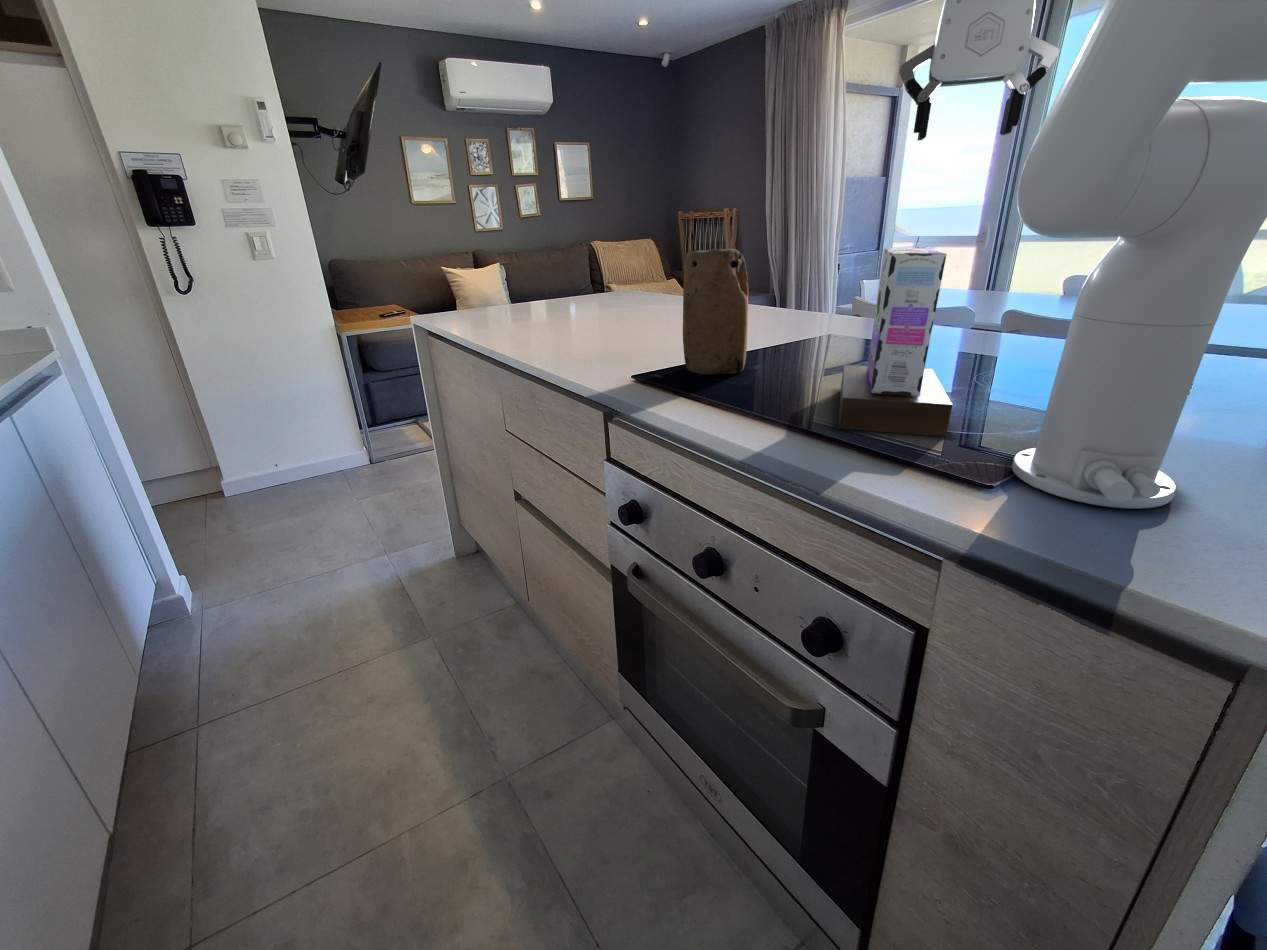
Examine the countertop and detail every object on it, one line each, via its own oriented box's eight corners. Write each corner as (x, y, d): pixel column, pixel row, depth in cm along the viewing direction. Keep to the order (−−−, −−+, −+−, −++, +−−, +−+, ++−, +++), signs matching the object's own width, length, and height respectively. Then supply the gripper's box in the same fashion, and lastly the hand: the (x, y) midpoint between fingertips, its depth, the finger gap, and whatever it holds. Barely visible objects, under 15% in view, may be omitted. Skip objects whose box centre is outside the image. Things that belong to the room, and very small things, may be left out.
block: (679, 374, 98) (680, 250, 90) (689, 364, 105) (691, 248, 97) (742, 378, 95) (749, 249, 87) (748, 367, 102) (755, 247, 93)
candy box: (921, 398, 68) (948, 251, 62) (868, 395, 70) (890, 252, 64) (910, 371, 80) (932, 246, 74) (865, 369, 82) (883, 246, 75)
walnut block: (945, 437, 68) (952, 404, 66) (839, 428, 71) (843, 397, 70) (927, 395, 83) (932, 368, 81) (840, 390, 87) (843, 364, 85)
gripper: (915, -33, 66) (891, 138, 73) (1093, -60, 60) (1049, 127, 67) (909, -11, 72) (888, 144, 79) (1069, -33, 67) (1032, 135, 74)
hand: (962, 136), depth 73 cm, fingers open, 9 cm apart
